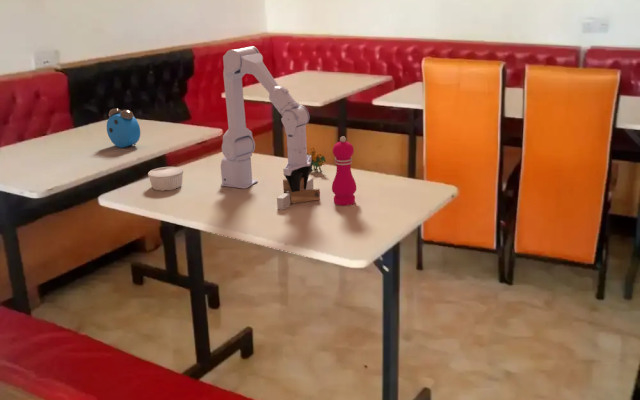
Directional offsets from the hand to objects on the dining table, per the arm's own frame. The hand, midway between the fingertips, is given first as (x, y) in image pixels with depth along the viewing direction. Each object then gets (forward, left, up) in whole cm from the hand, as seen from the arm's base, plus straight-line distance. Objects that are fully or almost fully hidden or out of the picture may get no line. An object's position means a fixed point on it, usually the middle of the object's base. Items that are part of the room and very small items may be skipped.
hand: (299, 191), depth 203 cm
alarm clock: (-93, +30, -2) cm, 98 cm away
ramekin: (-46, -5, -2) cm, 46 cm away
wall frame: (-1, 0, -2) cm, 2 cm away
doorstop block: (-2, 0, -2) cm, 3 cm away
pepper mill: (+14, +1, -2) cm, 14 cm away
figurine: (-8, +26, -2) cm, 28 cm away
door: (+3, -2, -2) cm, 4 cm away
